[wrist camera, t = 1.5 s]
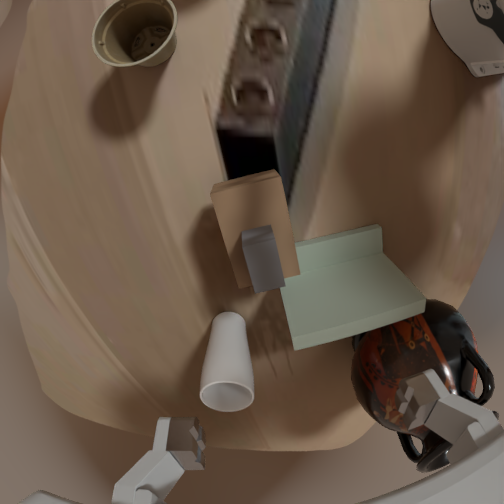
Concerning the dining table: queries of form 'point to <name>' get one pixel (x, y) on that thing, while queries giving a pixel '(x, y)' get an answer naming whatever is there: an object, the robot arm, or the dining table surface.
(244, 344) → the drinking glass
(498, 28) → the robot arm
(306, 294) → the board
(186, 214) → the dining table surface
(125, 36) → the flower pot
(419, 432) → the amphora vase
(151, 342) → the dining table surface
